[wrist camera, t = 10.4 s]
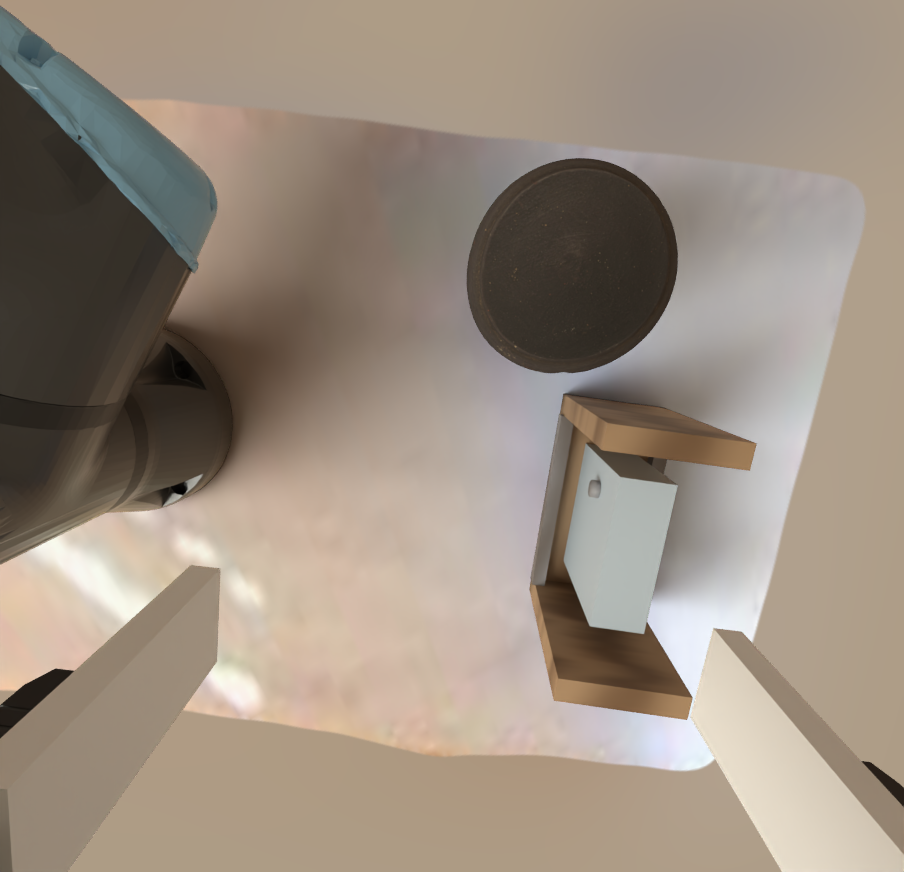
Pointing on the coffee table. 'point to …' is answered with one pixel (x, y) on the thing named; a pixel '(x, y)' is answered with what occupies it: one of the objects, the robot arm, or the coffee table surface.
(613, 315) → the container
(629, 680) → the brown cabinet body
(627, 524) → the door slab
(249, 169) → the coffee table surface
